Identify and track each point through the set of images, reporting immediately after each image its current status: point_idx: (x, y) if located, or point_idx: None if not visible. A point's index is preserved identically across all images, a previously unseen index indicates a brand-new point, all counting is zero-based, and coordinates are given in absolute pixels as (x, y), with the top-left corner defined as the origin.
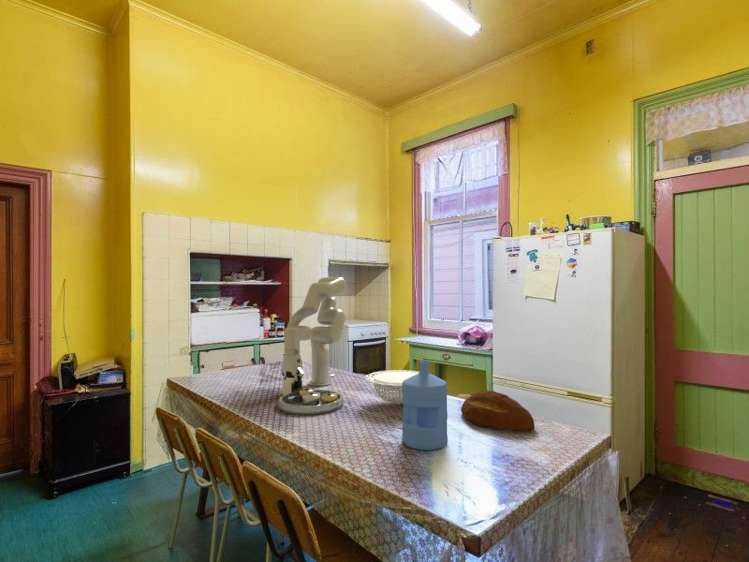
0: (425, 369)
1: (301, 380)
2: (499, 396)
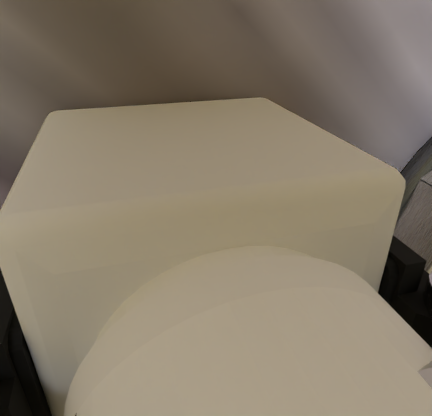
0: None
1: (396, 192)
2: None
